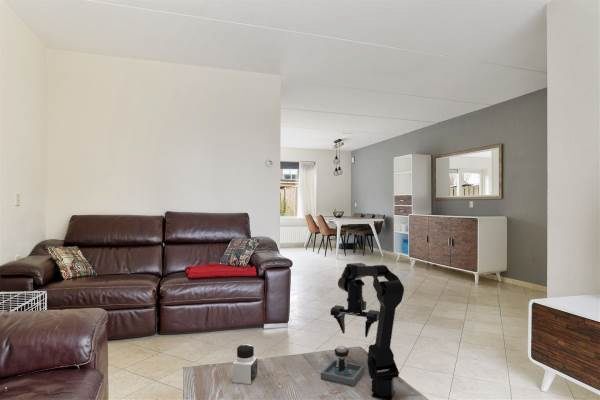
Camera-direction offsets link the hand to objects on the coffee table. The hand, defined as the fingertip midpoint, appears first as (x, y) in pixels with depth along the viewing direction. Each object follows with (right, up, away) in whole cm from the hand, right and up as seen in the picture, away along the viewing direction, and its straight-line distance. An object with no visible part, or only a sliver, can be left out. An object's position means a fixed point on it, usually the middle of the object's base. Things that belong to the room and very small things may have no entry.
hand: (354, 335), depth 145 cm
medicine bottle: (-42, -13, -10) cm, 45 cm away
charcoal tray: (-5, -13, -6) cm, 15 cm away
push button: (-5, -13, -7) cm, 15 cm away
